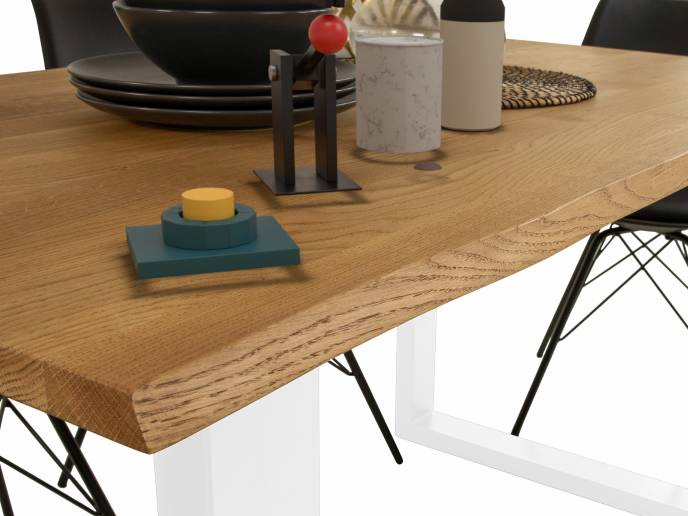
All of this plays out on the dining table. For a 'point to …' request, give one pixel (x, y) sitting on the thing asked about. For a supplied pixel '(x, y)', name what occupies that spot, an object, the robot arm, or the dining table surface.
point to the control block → (209, 244)
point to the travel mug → (472, 63)
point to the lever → (318, 49)
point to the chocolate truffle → (427, 166)
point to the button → (208, 204)
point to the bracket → (284, 172)
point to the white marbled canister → (398, 93)
